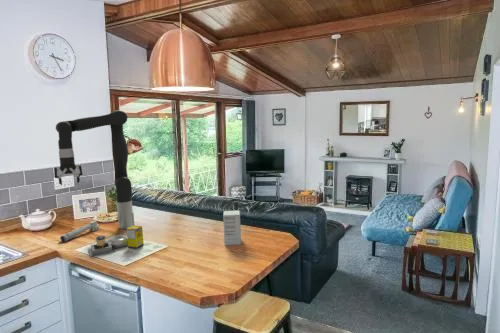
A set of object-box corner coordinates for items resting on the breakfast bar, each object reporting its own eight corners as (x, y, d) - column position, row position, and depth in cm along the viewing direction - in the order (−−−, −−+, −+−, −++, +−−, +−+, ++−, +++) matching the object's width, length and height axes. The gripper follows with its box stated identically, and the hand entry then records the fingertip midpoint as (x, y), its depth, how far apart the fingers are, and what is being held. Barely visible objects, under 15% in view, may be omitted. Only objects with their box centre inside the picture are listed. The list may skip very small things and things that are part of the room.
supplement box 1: (143, 244, 186) (142, 225, 184) (137, 248, 180) (135, 229, 179) (135, 243, 188) (133, 225, 186) (127, 247, 182) (126, 228, 181)
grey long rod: (58, 235, 195) (93, 217, 217) (61, 245, 197) (95, 227, 218) (64, 236, 193) (99, 218, 215) (67, 246, 194) (101, 228, 216)
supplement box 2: (241, 244, 181) (240, 214, 179) (224, 245, 181) (223, 215, 178) (240, 238, 191) (239, 209, 188) (224, 239, 190) (223, 210, 188)
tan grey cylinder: (105, 247, 182) (104, 235, 181) (106, 249, 178) (105, 237, 177) (96, 249, 180) (95, 236, 179) (97, 251, 176) (96, 238, 175)
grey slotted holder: (125, 242, 191) (124, 234, 190) (129, 248, 180) (128, 241, 180) (88, 249, 181) (87, 241, 181) (90, 257, 171) (89, 248, 170)
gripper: (80, 154, 200) (82, 181, 202) (52, 156, 193) (55, 184, 195) (80, 155, 194) (83, 183, 196) (52, 157, 187) (55, 186, 189)
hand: (69, 183), depth 196 cm, fingers open, 8 cm apart
